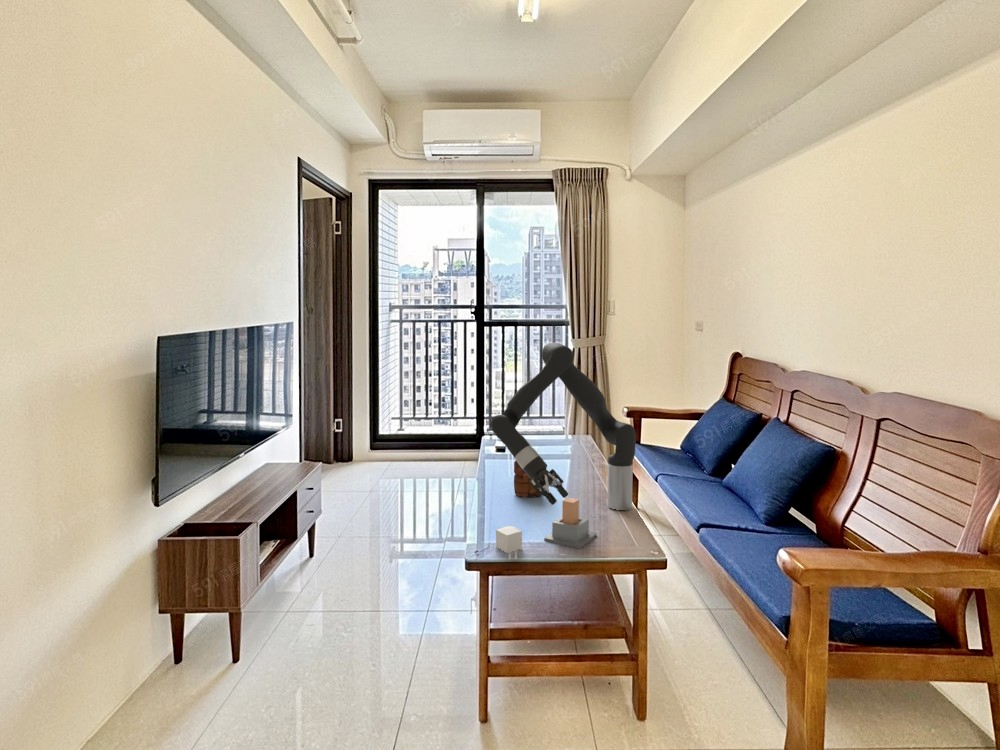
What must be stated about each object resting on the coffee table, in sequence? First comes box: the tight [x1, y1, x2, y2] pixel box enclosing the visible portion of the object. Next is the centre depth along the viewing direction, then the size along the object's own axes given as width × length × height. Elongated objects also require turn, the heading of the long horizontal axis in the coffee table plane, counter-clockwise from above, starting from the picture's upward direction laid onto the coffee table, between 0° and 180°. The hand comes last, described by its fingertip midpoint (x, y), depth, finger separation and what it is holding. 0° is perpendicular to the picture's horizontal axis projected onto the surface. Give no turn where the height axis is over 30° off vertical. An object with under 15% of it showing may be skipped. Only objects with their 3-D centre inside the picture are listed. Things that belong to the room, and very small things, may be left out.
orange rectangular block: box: [561, 497, 580, 525], centre depth 191 cm, size 4×4×12 cm
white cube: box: [495, 525, 523, 554], centre depth 183 cm, size 6×6×6 cm
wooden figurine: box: [513, 460, 541, 498], centre depth 237 cm, size 12×6×18 cm, turn 96°
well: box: [543, 516, 598, 550], centre depth 191 cm, size 13×13×6 cm
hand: (560, 499), depth 192 cm, fingers open, 8 cm apart
